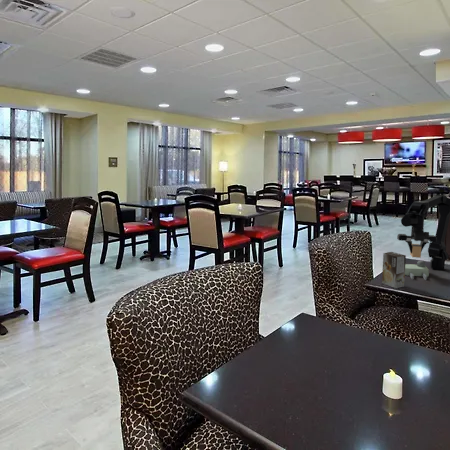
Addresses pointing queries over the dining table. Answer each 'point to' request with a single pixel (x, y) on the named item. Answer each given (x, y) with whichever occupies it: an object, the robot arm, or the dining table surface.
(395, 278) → the coffee box
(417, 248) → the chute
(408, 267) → the mower deck
